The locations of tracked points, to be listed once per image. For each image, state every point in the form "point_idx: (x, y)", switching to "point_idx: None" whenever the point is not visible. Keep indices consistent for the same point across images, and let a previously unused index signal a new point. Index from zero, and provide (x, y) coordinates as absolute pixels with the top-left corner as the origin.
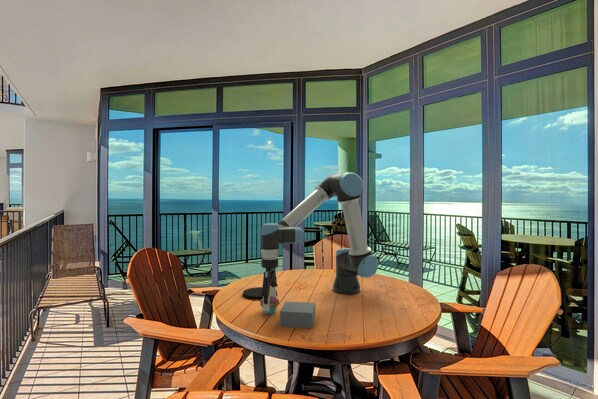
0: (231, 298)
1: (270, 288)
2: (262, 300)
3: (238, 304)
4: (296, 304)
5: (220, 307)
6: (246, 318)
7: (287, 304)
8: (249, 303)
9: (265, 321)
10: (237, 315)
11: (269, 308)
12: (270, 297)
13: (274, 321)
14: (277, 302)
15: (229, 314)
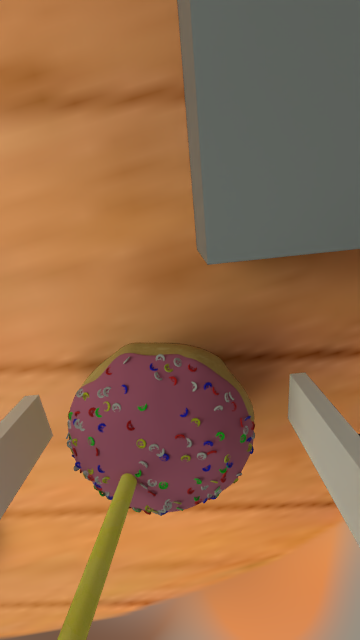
0: (17, 598)
1: (84, 602)
2: (213, 496)
3: (90, 552)
4: (347, 10)
5: (160, 594)
6: (297, 461)
7: (350, 191)
8: (50, 517)
9: (343, 351)
10: (256, 509)
11: (299, 385)
12: (174, 465)
13: (341, 293)
14: (189, 359)
15: (248, 541)
